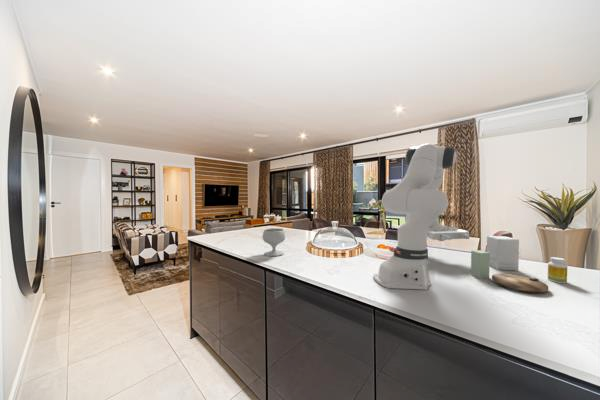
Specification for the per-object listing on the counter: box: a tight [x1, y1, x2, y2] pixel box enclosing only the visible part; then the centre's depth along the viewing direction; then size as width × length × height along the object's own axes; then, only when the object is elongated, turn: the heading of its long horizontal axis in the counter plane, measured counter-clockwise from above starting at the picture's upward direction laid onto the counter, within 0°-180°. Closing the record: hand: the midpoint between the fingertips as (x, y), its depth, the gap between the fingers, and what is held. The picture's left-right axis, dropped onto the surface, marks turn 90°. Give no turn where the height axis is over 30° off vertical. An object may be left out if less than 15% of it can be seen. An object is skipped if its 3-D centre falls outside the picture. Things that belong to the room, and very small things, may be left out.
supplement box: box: [486, 235, 520, 272], centre depth 111 cm, size 9×9×15 cm
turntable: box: [491, 273, 549, 293], centre depth 89 cm, size 16×16×2 cm
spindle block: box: [470, 249, 491, 279], centre depth 99 cm, size 4×4×11 cm
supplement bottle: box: [547, 256, 568, 284], centre depth 94 cm, size 5×5×10 cm
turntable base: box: [498, 284, 541, 294], centre depth 89 cm, size 13×13×1 cm
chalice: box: [262, 227, 286, 257], centre depth 138 cm, size 14×14×15 cm
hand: (459, 237), depth 111 cm, fingers open, 8 cm apart
